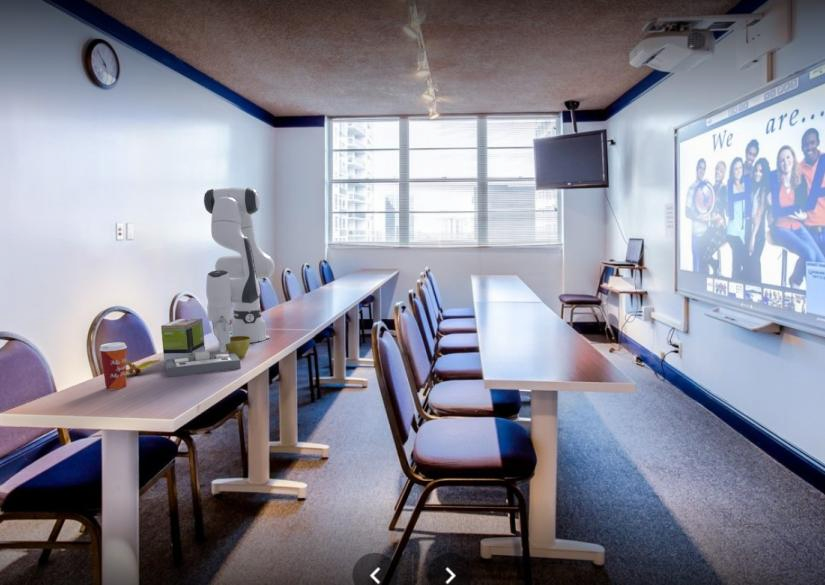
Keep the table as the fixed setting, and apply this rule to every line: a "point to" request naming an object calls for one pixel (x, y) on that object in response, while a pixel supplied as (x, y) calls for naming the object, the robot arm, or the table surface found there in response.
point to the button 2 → (222, 356)
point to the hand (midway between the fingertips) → (222, 351)
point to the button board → (202, 365)
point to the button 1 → (181, 360)
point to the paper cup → (114, 364)
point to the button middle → (202, 356)
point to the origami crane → (140, 367)
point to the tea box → (182, 338)
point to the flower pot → (238, 345)
